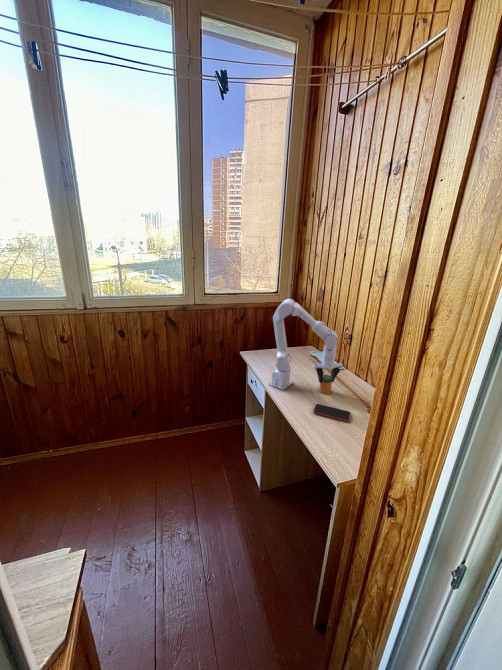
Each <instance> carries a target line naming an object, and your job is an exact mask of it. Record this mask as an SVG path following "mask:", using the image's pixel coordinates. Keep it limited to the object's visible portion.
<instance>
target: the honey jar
mask: <svg viewBox="0 0 502 670" xmlns="http://www.w3.org/2000/svg"><path fill="white" fill-rule="evenodd" d="M332 386H333V382H330V383H326V382H323V381H322V383H320V382H319V387H318V388H319V389H318V391H319V392H320V393H321V394H324V395H328V394H331V392H332Z"/></svg>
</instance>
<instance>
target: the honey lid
mask: <svg viewBox="0 0 502 670" xmlns="http://www.w3.org/2000/svg"><path fill="white" fill-rule="evenodd" d="M322 381H323V382H326V383H330V382H332V381H333V377H332V376H331V374H323V377H322ZM332 383H333V382H332Z"/></svg>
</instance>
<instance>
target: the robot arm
mask: <svg viewBox="0 0 502 670" xmlns="http://www.w3.org/2000/svg"><path fill="white" fill-rule="evenodd" d="M290 315H291V317H299V318H300V319H302V321H304V322H306V324H308V325H310V327H311V331H312V332H313V333H315V334H316V335H317V336H318V337H319V338H320V339H322V340H323V342H324V345H323V351H322V361H321V362H320V363H315V364H312V369H313V371H316V374H317V377H318V382H319V384H320V383H322V377H323V375H324V373H325V372H324V370H330V376H332V377H333V381H332V383H335V379H336V378H337V376H338V375H339V373H340V372H341V369H343V368H344V364H343V363H342V362H335V361H336V354H337V344H338V342H339V341H338V338H339V335H338V333H337V332H336V330H333V329H332V328H330V327H328V326H327V325H326V324H325V323H326V322H325V321H321V320H316V319H315V318H314V317H313V316H311V314H310V313H309V312H307V311H306V310H305V309H304V308H303V306H302V305H300V304H299V303H298V302H296V301H295V300H294V299H293V298H285V299H284V300H283V301H282V302H281V303H280V304H279V305H278V307H277V308H276V310H275V312H274V314H273V316H272V323H273V329H274V337H275V343H276V344H275V345H276V350H277V351H276V353H277V354H276V363H275V370H274V372H273V373H272V375H271V377H272V378H271V383H270V386H273V387H275V388H277V389H279V390H282V391H284V390H286V388H288V387H290V386H291V385H293V381H291V369H292V368H291V365H290V364H291V362H292V360H293V358H292V356H291V354H290V350H289V348H288V342H287V336H286V327H285V320H284V319H286V317H288V316H290Z"/></svg>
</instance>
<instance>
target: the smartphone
mask: <svg viewBox="0 0 502 670" xmlns="http://www.w3.org/2000/svg"><path fill="white" fill-rule="evenodd" d="M312 411H313V414H314V415H315V414H316V415H319V416H324V417H327V418H330V419H334V420H340V421H342V422H347V423H348V422H349V421H350V418H351V411H349V410H345V409H341V408H337V407H334V406H329V405H325V404H321V403H316V404H315V406H314V408H313V410H312Z"/></svg>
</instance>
